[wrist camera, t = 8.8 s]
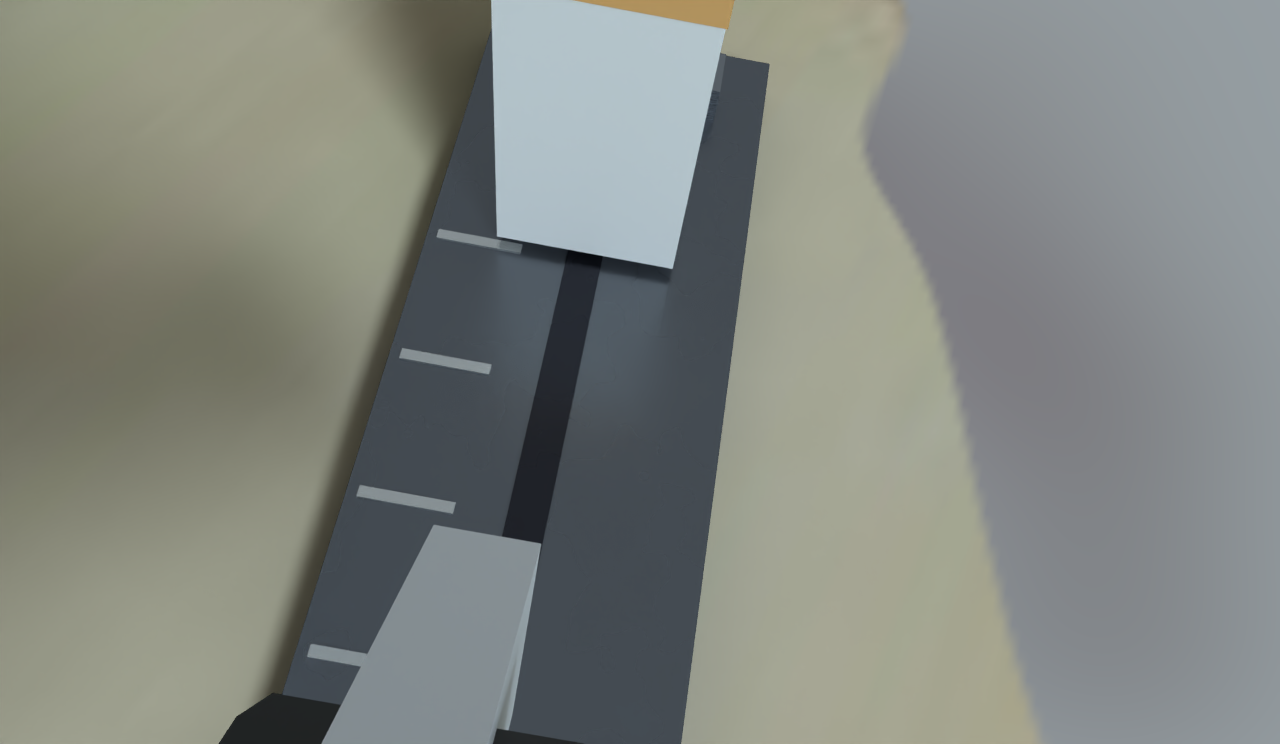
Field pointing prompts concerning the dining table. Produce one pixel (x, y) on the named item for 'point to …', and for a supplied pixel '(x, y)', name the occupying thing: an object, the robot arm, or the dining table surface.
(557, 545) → the board
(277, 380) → the dining table surface
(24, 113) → the dining table surface
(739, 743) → the dining table surface
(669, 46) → the fader knob
